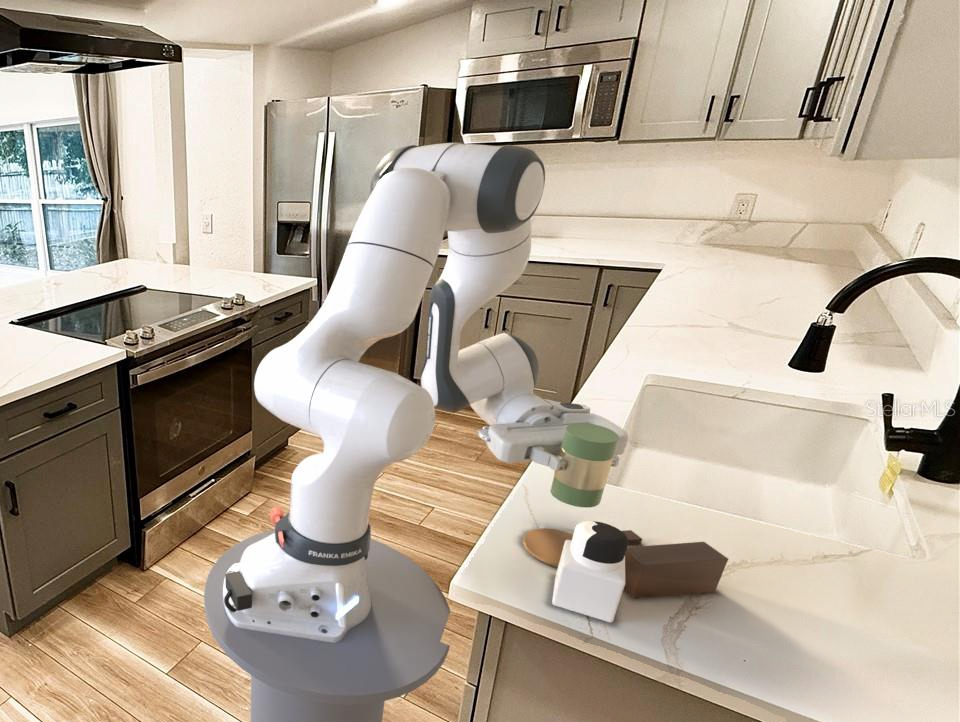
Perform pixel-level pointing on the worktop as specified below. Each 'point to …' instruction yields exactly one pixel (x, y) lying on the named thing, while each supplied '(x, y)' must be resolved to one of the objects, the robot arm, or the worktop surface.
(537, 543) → the cork coaster
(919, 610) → the worktop surface
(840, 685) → the worktop surface
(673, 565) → the brown rectangular block
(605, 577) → the medicine bottle
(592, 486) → the tin can
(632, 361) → the worktop surface
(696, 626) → the worktop surface
